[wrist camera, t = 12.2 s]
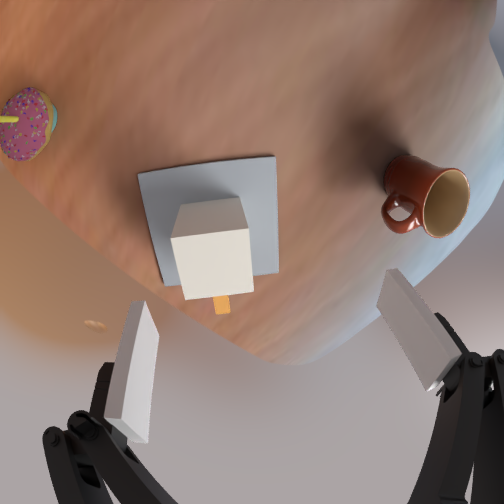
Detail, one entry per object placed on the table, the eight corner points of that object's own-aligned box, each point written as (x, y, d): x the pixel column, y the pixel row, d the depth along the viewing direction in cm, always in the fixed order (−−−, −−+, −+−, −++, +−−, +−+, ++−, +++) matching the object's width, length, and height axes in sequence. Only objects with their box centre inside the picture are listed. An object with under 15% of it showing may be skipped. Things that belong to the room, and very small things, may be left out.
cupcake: (41, 77, 20) (-21, 79, 10) (82, 106, 24) (22, 115, 13) (13, 134, 22) (-46, 157, 12) (50, 164, 26) (-7, 198, 16)
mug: (414, 138, 31) (465, 156, 22) (427, 189, 35) (472, 217, 26) (348, 174, 33) (392, 203, 24) (368, 226, 37) (407, 264, 28)
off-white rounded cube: (180, 204, 31) (170, 238, 24) (239, 197, 32) (248, 228, 24) (195, 277, 37) (192, 324, 29) (246, 271, 37) (255, 316, 29)
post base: (138, 173, 29) (123, 188, 24) (274, 156, 30) (287, 167, 25) (165, 284, 37) (160, 313, 32) (277, 270, 39) (288, 297, 33)
